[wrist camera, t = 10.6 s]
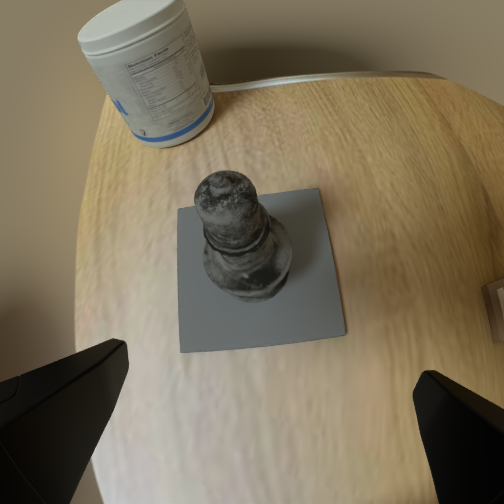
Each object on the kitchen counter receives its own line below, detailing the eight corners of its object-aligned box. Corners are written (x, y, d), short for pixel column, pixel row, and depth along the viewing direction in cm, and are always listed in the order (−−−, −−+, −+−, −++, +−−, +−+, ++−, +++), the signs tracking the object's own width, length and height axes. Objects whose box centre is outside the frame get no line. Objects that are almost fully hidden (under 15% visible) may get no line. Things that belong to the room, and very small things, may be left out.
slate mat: (344, 335, 21) (345, 334, 20) (182, 352, 22) (180, 352, 21) (317, 190, 25) (317, 187, 25) (179, 210, 26) (177, 208, 26)
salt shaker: (237, 221, 24) (194, 112, 13) (305, 249, 23) (312, 142, 12) (202, 286, 23) (122, 212, 12) (272, 320, 21) (248, 268, 10)
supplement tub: (125, 124, 32) (67, 31, 18) (190, 82, 33) (154, -17, 19) (157, 168, 28) (85, 51, 15) (235, 116, 29) (201, -9, 16)
